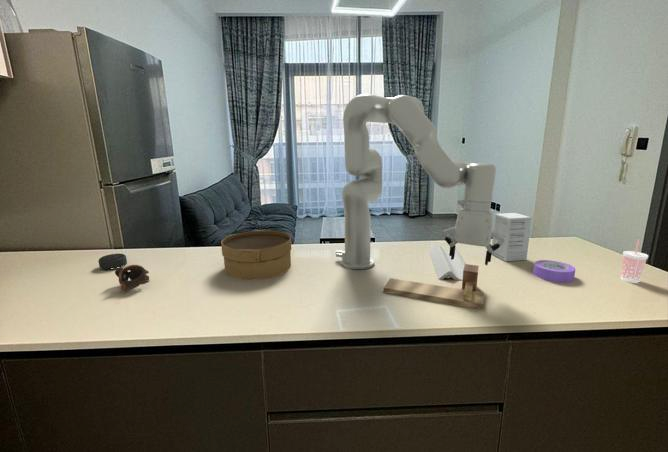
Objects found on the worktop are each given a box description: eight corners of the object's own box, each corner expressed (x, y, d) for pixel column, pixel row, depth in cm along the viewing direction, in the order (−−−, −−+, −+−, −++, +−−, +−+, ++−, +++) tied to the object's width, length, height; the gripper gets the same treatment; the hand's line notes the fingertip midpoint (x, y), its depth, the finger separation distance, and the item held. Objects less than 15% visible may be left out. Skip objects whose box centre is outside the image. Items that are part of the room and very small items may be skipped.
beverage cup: (638, 278, 111) (647, 237, 107) (645, 285, 105) (655, 242, 102) (615, 275, 113) (623, 235, 110) (621, 282, 108) (629, 240, 104)
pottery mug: (159, 281, 115) (153, 266, 109) (140, 303, 108) (133, 288, 102) (127, 271, 116) (120, 255, 110) (107, 292, 109) (98, 277, 103)
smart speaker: (117, 270, 124) (116, 260, 123) (94, 270, 124) (92, 260, 123) (132, 262, 133) (130, 252, 132) (110, 262, 133) (108, 253, 132)
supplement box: (527, 260, 128) (533, 217, 124) (505, 262, 127) (510, 218, 123) (510, 252, 138) (515, 212, 134) (490, 253, 136) (494, 213, 132)
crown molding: (474, 282, 110) (475, 272, 110) (436, 281, 112) (437, 271, 111) (456, 252, 140) (457, 244, 139) (427, 251, 142) (427, 243, 141)
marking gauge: (458, 305, 94) (460, 282, 92) (463, 284, 108) (464, 264, 106) (474, 308, 92) (476, 284, 91) (476, 286, 106) (478, 265, 104)
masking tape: (528, 268, 121) (529, 258, 120) (564, 270, 118) (566, 260, 117) (540, 281, 109) (542, 270, 109) (580, 284, 107) (582, 273, 106)
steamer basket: (272, 284, 110) (269, 251, 107) (209, 276, 118) (205, 245, 115) (302, 260, 133) (301, 232, 130) (248, 255, 141) (246, 228, 138)
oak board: (383, 292, 103) (383, 287, 103) (390, 282, 110) (390, 278, 110) (482, 309, 92) (483, 304, 91) (483, 297, 99) (483, 292, 98)
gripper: (444, 205, 98) (438, 260, 103) (510, 211, 91) (500, 270, 96) (447, 201, 105) (441, 252, 109) (509, 206, 98) (500, 261, 102)
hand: (469, 260), depth 103 cm, fingers open, 9 cm apart
